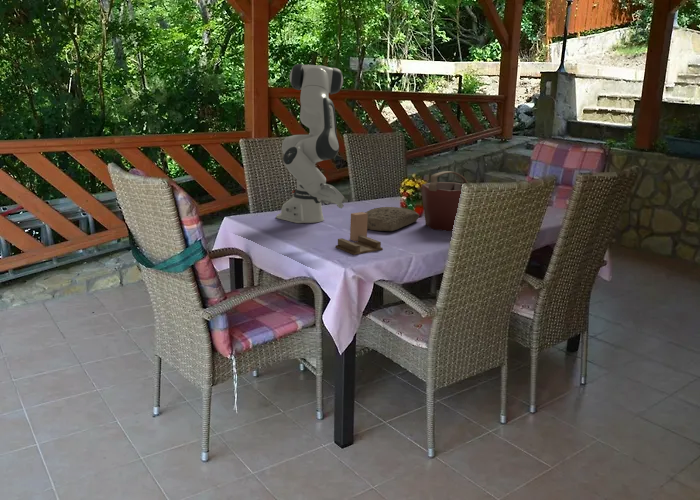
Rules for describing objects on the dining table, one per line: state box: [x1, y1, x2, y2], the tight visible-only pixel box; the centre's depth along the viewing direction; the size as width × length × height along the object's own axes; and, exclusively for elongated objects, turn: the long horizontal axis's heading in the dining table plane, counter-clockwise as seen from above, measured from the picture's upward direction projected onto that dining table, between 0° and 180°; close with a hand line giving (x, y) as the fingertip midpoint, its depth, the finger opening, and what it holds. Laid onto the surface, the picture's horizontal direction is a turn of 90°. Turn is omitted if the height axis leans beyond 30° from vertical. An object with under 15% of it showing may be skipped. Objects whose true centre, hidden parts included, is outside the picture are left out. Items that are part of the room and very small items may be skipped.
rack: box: [335, 235, 383, 256], centre depth 247 cm, size 14×12×3 cm
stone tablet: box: [364, 206, 420, 232], centre depth 287 cm, size 20×8×30 cm
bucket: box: [421, 170, 469, 232], centre depth 285 cm, size 24×22×25 cm
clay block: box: [349, 211, 368, 242], centre depth 259 cm, size 6×4×11 cm, turn 126°
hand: (334, 204), depth 249 cm, fingers open, 8 cm apart
